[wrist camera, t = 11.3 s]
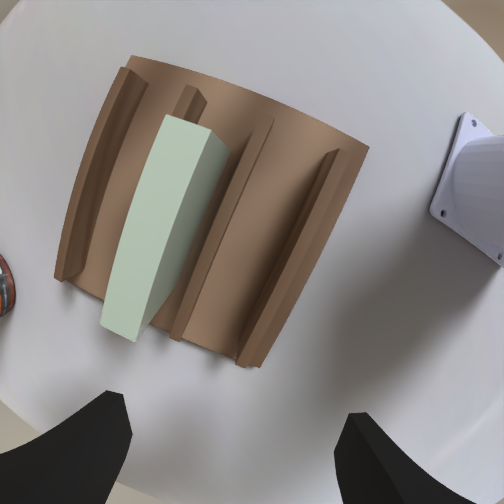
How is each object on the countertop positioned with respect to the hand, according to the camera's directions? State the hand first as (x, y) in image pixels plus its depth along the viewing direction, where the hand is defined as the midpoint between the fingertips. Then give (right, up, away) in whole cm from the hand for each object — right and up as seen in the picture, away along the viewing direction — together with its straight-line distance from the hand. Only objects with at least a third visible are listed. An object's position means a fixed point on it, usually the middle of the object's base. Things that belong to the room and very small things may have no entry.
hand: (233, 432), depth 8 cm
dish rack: (-3, +8, +9) cm, 12 cm away
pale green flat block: (-3, +8, +8) cm, 12 cm away
